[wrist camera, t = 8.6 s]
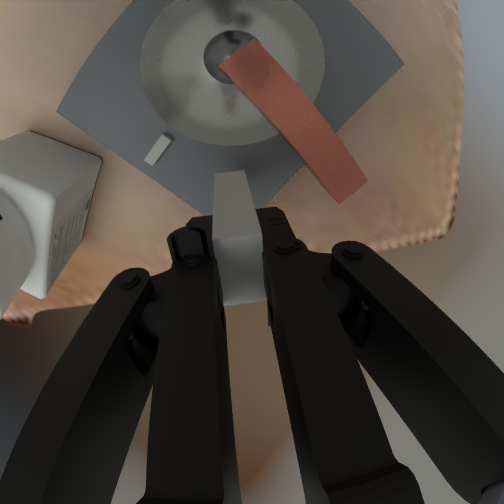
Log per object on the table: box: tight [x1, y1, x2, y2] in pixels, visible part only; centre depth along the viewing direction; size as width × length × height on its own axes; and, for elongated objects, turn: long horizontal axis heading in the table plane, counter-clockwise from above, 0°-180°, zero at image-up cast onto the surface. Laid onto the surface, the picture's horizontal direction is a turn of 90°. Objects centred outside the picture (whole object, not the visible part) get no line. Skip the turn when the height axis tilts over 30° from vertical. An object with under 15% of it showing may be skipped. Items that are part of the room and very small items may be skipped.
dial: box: [140, 0, 367, 204], centre depth 13 cm, size 14×10×5 cm
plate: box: [56, 0, 404, 216], centre depth 15 cm, size 18×16×2 cm
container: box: [0, 131, 102, 319], centre depth 13 cm, size 8×8×13 cm
